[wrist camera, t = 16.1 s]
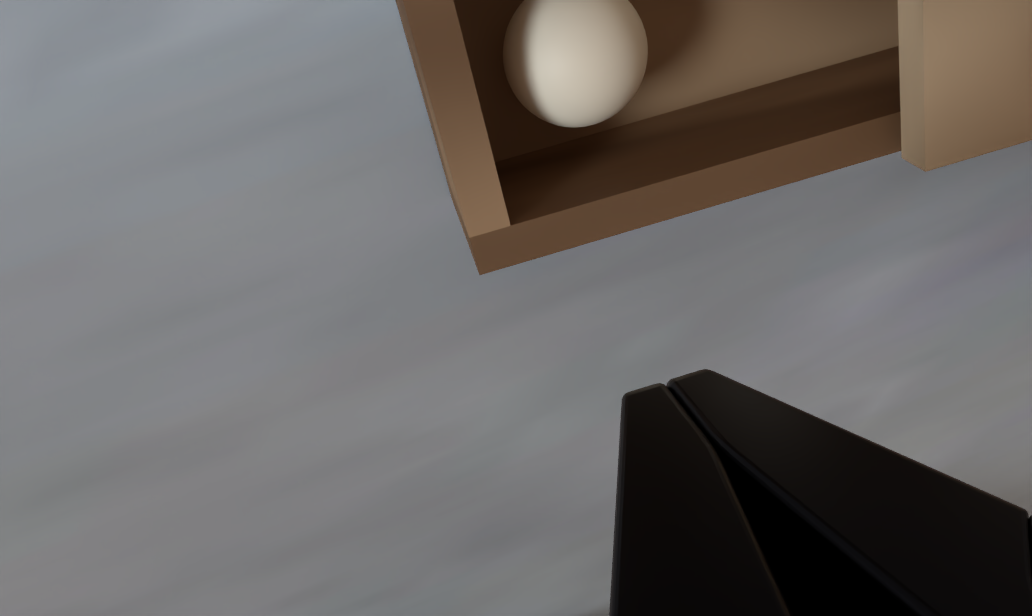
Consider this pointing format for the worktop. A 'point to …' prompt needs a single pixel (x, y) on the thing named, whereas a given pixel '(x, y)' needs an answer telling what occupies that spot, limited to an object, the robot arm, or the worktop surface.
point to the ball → (575, 58)
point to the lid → (963, 78)
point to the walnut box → (655, 116)
